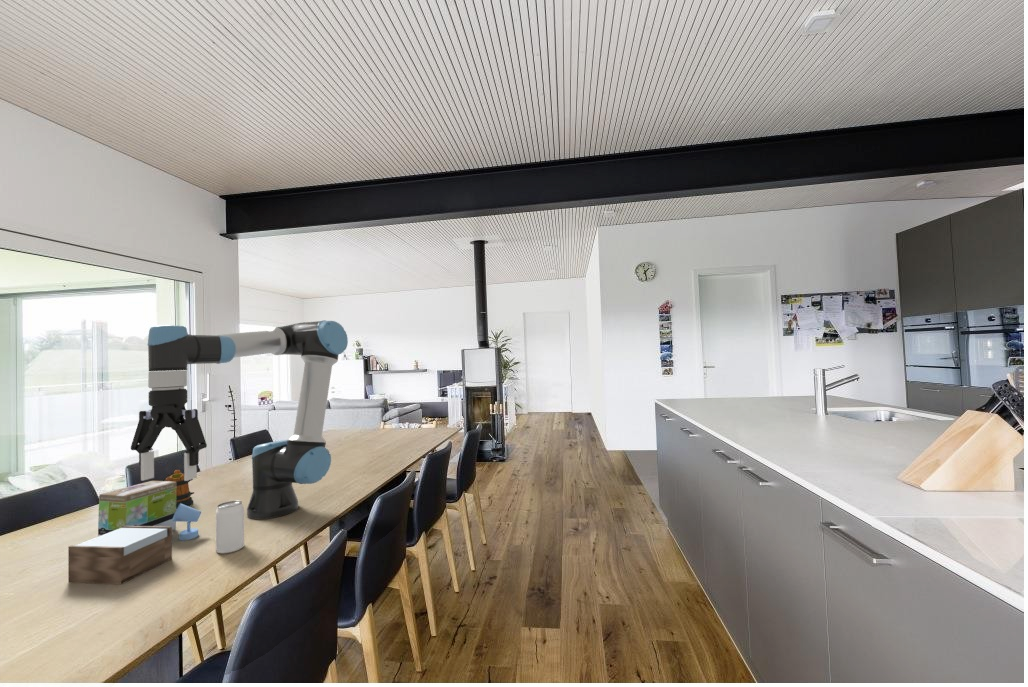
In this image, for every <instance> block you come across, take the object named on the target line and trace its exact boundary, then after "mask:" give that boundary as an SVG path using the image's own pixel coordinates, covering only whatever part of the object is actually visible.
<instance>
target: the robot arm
mask: <svg viewBox="0 0 1028 687" xmlns="http://www.w3.org/2000/svg"><path fill="white" fill-rule="evenodd" d="M348 342H349V338H348V334H347V331H346V330H345V329H344V326H343V325H342V324H340V323H339V322H337V321H335V320H318V321H317V320H315V321H307V322H298V323H292V324H289V325H283V326H276V327H275V326H274V327H271V328H268V330H262V331H261V330H259V331H247V332H246V331H245V332H234V333H233V332H232V333H231V332H230V333H221V334H220V333H219V334H204V335H203V334H189V332H188V329H187V327H186V326H184V325H174V324H172V325H171V324H170V325H169V324H165V325H164V324H161V325H160V324H159V325H153V326H151V327H150V328H149V330H148V339H147V346H148V347H147V349H148V359H147V360H148V376H147V377H148V378H147V379H148V381H147V382H148V383H147V384H148V385H147V386H148V388H149V389H151V390H149V392H148V405H149V406H150V407H151V409H145V410H140V411H139V412H138V423H137V426H136V429H135V432H134V435H133V438H132V439H133V440H132V441H131V444H130V450H131V451H136V452H137V453H138V460H139V461H138V463H139V467H140V481H147V480H151V479H155V451H154V449H153V446H154V444H155V443H156V441H157V439H158V437H159V436H160V435H161V432H162V430H163V429H165V428H171V429H172V430H173V431H175V433H176V435H177V437H178V438H179V439H180V442H181V443H182V444H183V446H184V447H185V450H186V451H185V452H184V454H183V464H184V465H183V470H184V472H183V474H184V481H188V480H191V479H193V480H194V479H197V478H198V476H197V475H198V474H197V472H198V471H197V465H199V462H200V461H199V460H200V459H199V454H200V453H199V452H200V450H203V449H206V448H207V447H208V446H207V445H208V444H207V442H206V439H205V435H204V433H203V429H202V427H201V424H200V421H199V413H198V409H197V408H193V409H186V404H187V403H188V389H187V388H185V387H187V386H188V365H205V364H218V365H219V364H227V363H230V362H232V360H233V359H234V358H242V357H249V356H251V357H252V356H258V355H266V354H272V355H273V356H281V355H282V356H283V355H294V356H297V355H298V356H300V358H301V359H302V361H303V362H304V367H303V372H302V374H303V375H302V379H301V386H300V393H299V397H298V398H299V399H298V406H297V410H296V417H295V424H294V429H293V430H294V431H293V435H291V436H290V437H289V438H288V439H283V440H282V439H281V440H277V441H271V442H266V443H261V444H257V445H256V446H253V448H252V454H251V455H252V456H251V460H252V461H251V463H252V464H251V466H252V469H251V470H252V492H251V496H250V499H249V502H248V506H247V508H246V515H247V516H246V517H247V518H249V519H251V520H252V519H253V520H265V519H266V520H267V519H274V518H279V517H283V516H286V515H289V514H292V513H294V512H295V511H296V510H298V509H299V500H298V497H297V494H296V492H295V489H294V486H293V484H299V485H309V484H310V485H311V484H315V483H319V481H321V480H322V479H323V478H324V477H325V476H326V475H327V473H328V472H329V470H330V467H331V465H332V455H331V453H330V451H329V450H328V449H327V448H326V444H327V442H326V440H325V439H324V437H323V430H324V425H325V424H324V423H325V419H326V418H325V417H326V411H327V410H326V409H327V403H328V397H329V396H328V395H329V391H330V390H329V389H330V384H331V382H330V381H331V375H332V370H333V366H335V364H337V362H338V361H339V355H341V354H343V353H344V352H345V351H346V350H347V348H348ZM191 481H192V480H191Z"/></svg>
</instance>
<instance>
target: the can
mask: <svg viewBox="0 0 1028 687" xmlns="http://www.w3.org/2000/svg"><path fill="white" fill-rule="evenodd" d="M244 546H245V507H244V505H243V501H242V500H230V501H225V502H222V503H220V504H218V505H217V508H216V510H215V551H216V553H218V554H220V555H222V554H223V555H225V554H232V553H234V552H237V551H240V550H242V548H244Z"/></svg>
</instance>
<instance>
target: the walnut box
mask: <svg viewBox="0 0 1028 687" xmlns="http://www.w3.org/2000/svg"><path fill="white" fill-rule="evenodd" d="M122 528H157V529H167V537H165V538H163V539H161V540H159V541H156V542H154V543H152V544H150V545H147V546H145V547H143V548H141V549H138V550H136V551H134V552H132V553H129V554H127V555H125V556H124V547H109V546H75V545H70V546H68V564H67V565H68V580H67V581H68V583H77V584H78V583H79V584H81V583H82V584H102V585H123V584H124V583H127V582H129V581H131V580H133V579H135V578H137V577H139V576H141V575H143V574H145V573H147V572H148V571H150V570H152V569H154V568H156V567H158V566H161V565H162V564H165V563H167V562H169V561H170V560H172V559H173V546H172V544H173V542H172V541H173V540H172V539H173V538H172V536H173V535H172V534H173V532H172V531H173V530H172V527H169V526H122Z"/></svg>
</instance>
